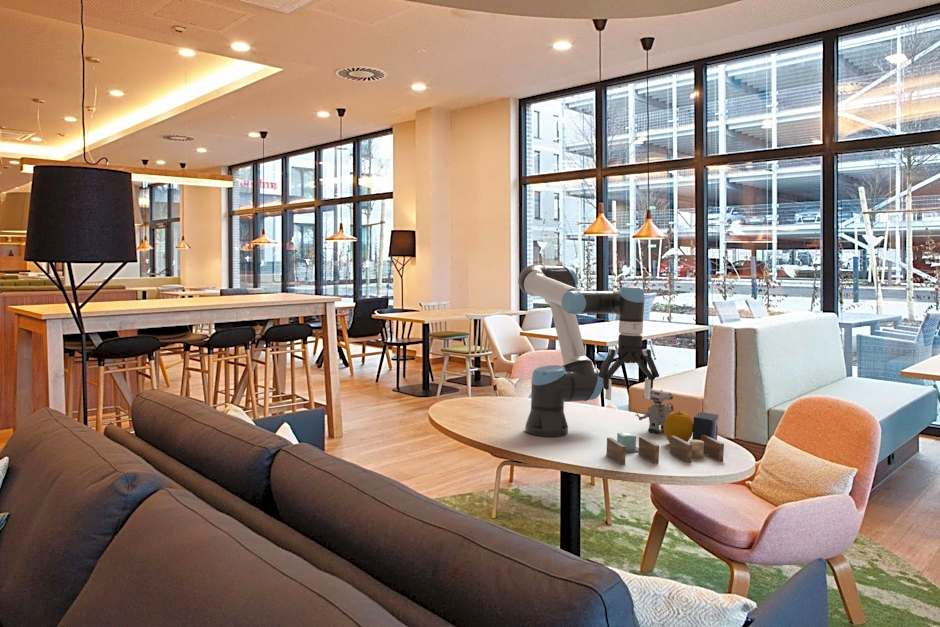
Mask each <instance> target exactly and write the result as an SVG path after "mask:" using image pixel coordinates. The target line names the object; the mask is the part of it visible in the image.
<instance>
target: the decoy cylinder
mask: <svg viewBox="0 0 940 627" xmlns="http://www.w3.org/2000/svg"><path fill="white" fill-rule="evenodd" d="M688 443H690V444H692V456H691V459H695V458H696V459H697V460H698V459H700V460H701V458H702V459H703V458H704V441H701V440H692V439H689V441H688Z"/></svg>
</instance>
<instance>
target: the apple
mask: <svg viewBox="0 0 940 627" xmlns="http://www.w3.org/2000/svg"><path fill="white" fill-rule="evenodd" d="M662 430H663V433H664V435H665V437H666V440H667V442H668V443H669V444H670V436H676V437H678V438H680V439H682V440H684V441H686V442H688V443H689V440H691V439H692V436H693V419H692V418H691V416H690V414H689V413H687V412H685V411H680V410H679V411H674V412H671V413H670V414H668V416H667V417H666V419H665V422H664V424H663V429H662Z"/></svg>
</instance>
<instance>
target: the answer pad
mask: <svg viewBox="0 0 940 627" xmlns="http://www.w3.org/2000/svg"><path fill="white" fill-rule="evenodd" d="M638 451H639V447H638V446H636V450H626V454H627V453H631V454H632V453H638Z"/></svg>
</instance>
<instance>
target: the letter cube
mask: <svg viewBox="0 0 940 627" xmlns="http://www.w3.org/2000/svg"><path fill="white" fill-rule="evenodd" d="M616 434H617V436H616V437H617V438H616V441H618V442H619V443H621V444H622V445H624V446H626V450H636V447H637V435H635V434H634V433H632V432H617V433H616Z"/></svg>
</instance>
